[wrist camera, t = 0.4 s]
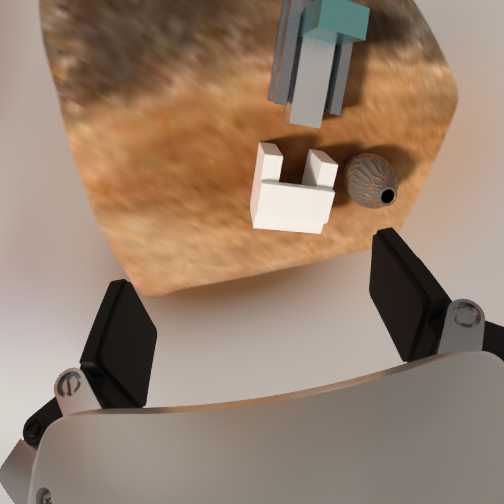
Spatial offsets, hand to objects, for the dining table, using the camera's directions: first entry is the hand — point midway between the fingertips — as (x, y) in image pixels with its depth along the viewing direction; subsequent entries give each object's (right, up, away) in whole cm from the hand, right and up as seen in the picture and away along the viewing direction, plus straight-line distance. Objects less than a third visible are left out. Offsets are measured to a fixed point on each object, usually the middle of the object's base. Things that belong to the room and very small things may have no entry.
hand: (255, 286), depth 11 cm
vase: (+15, +12, +28) cm, 34 cm away
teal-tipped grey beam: (+6, +23, +18) cm, 30 cm away
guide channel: (+7, +25, +18) cm, 32 cm away
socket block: (+4, +12, +27) cm, 30 cm away
